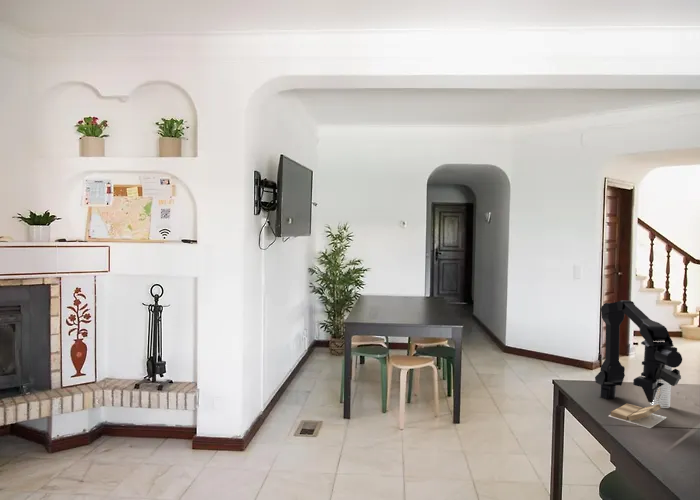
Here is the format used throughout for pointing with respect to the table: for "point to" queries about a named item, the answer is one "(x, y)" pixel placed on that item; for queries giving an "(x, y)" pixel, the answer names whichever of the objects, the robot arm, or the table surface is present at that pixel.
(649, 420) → the board
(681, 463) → the table surface
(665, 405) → the water bottle
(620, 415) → the laid plank
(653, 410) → the raised plank
